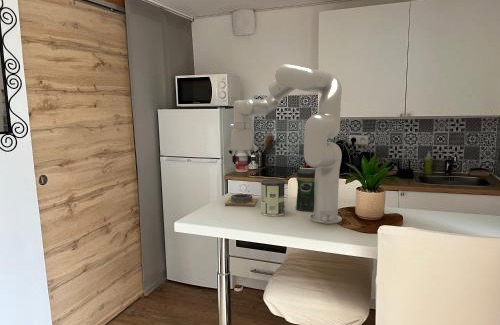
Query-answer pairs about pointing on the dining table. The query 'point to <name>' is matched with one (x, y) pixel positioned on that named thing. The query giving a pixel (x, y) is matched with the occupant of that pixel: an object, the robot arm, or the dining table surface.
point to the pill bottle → (241, 161)
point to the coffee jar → (305, 189)
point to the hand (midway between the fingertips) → (241, 163)
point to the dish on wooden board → (241, 200)
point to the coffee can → (272, 197)
